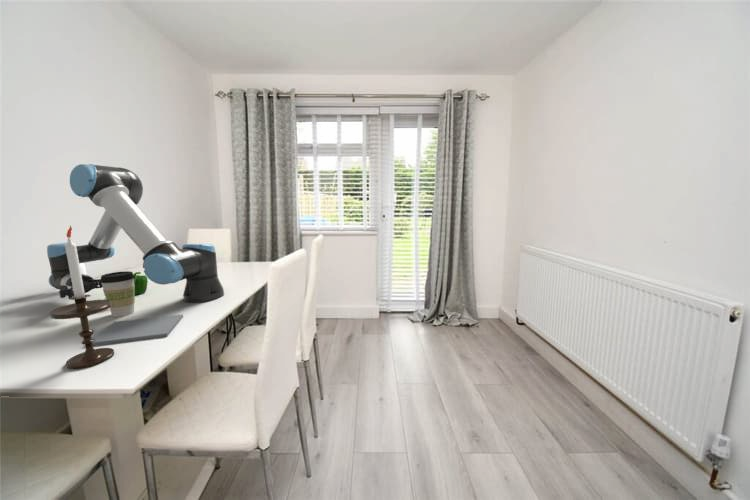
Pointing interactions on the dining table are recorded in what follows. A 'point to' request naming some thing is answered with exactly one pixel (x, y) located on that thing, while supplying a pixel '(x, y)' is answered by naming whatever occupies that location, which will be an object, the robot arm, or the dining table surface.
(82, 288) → the candlestick
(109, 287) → the coffee cup
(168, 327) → the slate mat
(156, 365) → the dining table surface
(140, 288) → the bell pepper
